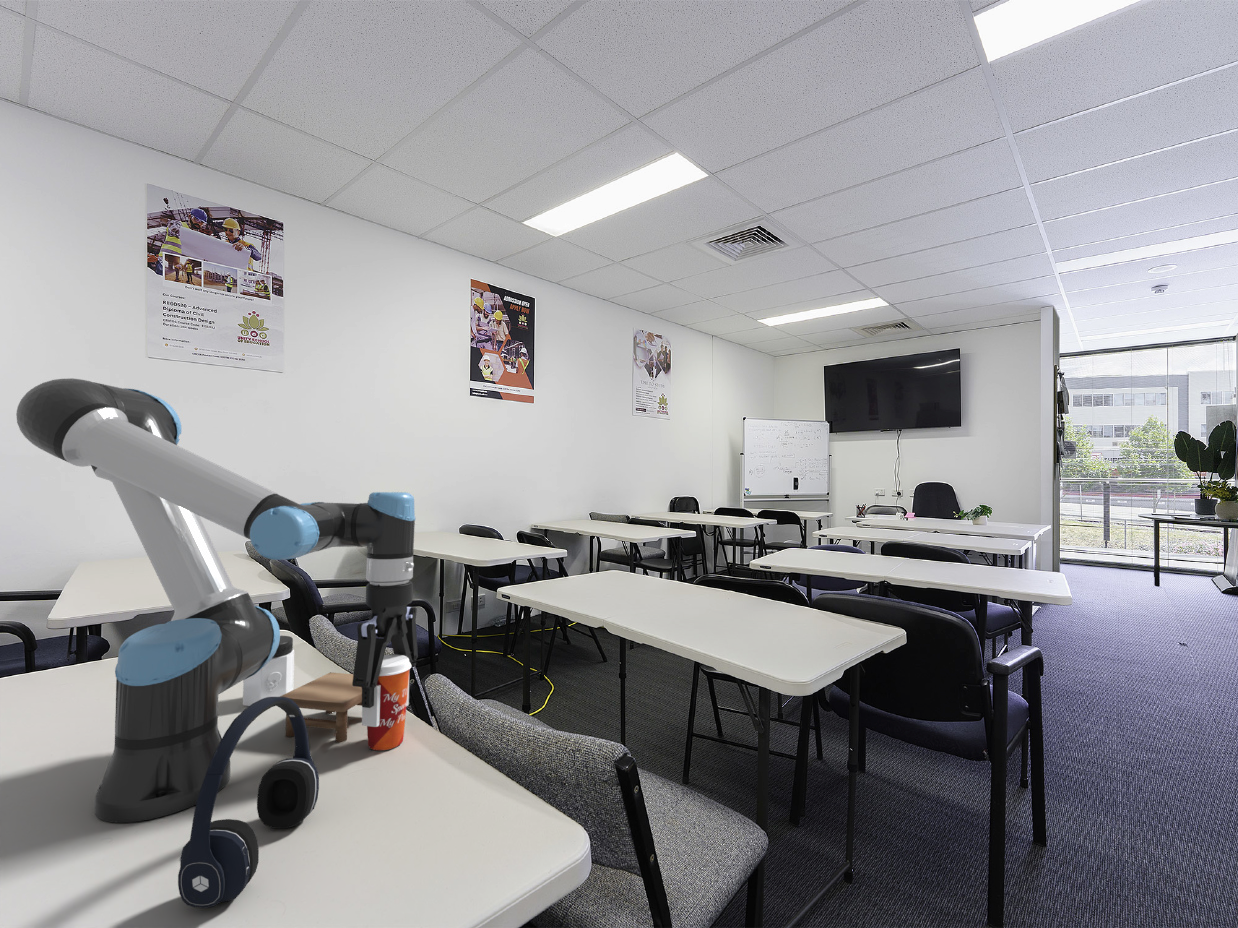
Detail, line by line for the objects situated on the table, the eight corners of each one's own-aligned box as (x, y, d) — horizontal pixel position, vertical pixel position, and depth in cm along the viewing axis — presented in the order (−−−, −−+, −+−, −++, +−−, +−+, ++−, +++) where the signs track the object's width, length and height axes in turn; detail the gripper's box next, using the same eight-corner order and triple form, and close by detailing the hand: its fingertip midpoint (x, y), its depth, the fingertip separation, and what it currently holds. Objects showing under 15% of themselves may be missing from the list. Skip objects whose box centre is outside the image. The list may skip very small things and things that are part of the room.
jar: (247, 711, 109) (248, 649, 109) (238, 699, 115) (240, 640, 115) (298, 699, 115) (300, 640, 115) (288, 688, 121) (289, 632, 121)
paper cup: (392, 755, 92) (394, 669, 92) (351, 750, 93) (353, 665, 93) (418, 734, 99) (420, 654, 100) (380, 729, 101) (382, 651, 101)
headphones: (231, 922, 57) (236, 741, 58) (162, 923, 57) (167, 741, 58) (326, 808, 77) (329, 674, 78) (275, 809, 77) (279, 674, 78)
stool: (342, 744, 96) (343, 703, 96) (277, 737, 98) (278, 696, 98) (388, 713, 108) (389, 677, 109) (329, 707, 111) (330, 672, 111)
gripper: (371, 594, 86) (367, 744, 85) (440, 572, 106) (437, 694, 106) (328, 591, 88) (324, 739, 87) (404, 571, 108) (401, 690, 107)
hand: (386, 714), depth 96 cm, fingers closed on paper cup, 8 cm apart
